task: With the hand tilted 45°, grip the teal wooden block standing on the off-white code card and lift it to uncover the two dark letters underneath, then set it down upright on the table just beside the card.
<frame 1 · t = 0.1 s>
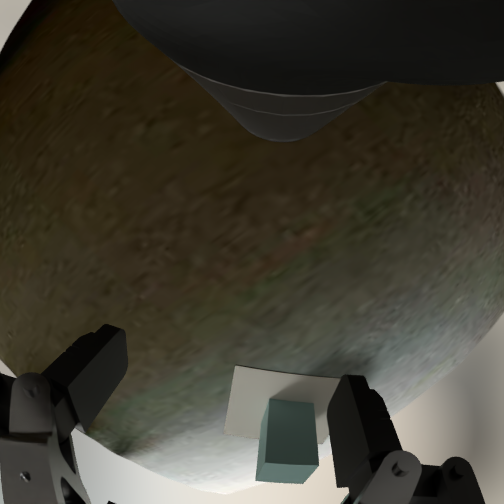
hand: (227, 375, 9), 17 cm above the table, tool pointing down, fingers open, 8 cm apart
code card: (286, 413, 33), on the table
teal block: (286, 414, 33), resting on code card
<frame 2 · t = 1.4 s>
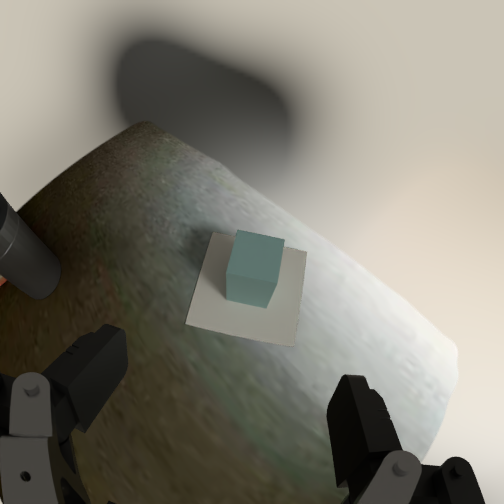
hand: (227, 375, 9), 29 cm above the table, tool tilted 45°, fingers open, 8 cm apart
code card: (250, 286, 42), on the table
teal block: (250, 285, 42), resting on code card
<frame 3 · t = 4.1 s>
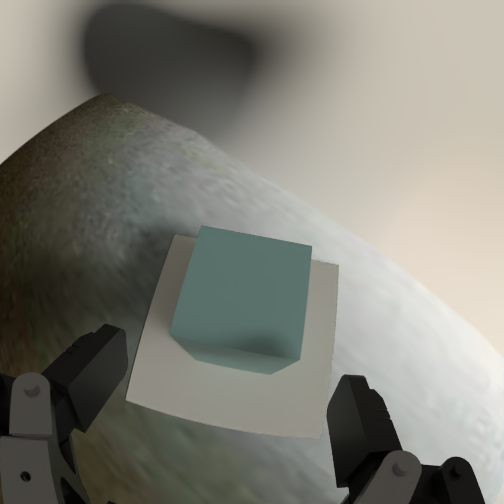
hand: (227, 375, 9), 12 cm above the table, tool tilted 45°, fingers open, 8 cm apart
code card: (240, 333, 22), on the table
teal block: (240, 333, 22), resting on code card
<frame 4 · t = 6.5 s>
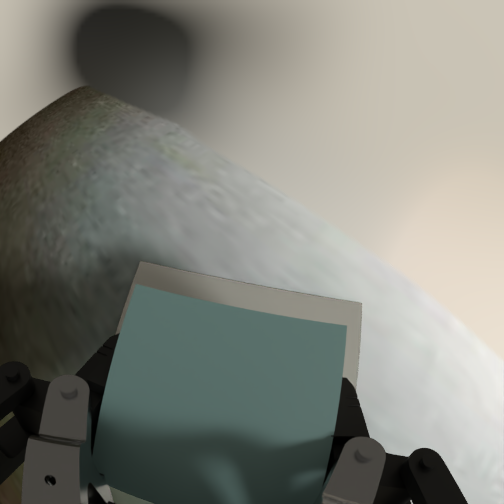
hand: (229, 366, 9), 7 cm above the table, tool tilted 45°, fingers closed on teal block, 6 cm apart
code card: (226, 403, 15), on the table
teal block: (226, 403, 14), resting on code card, touching gripper
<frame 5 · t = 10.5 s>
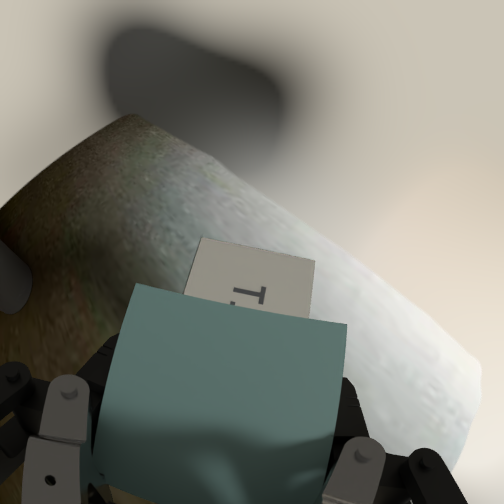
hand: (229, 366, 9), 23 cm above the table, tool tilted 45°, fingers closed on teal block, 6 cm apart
code card: (246, 303, 34), on the table
teal block: (226, 402, 14), point 16 cm above the table, touching gripper
when the fingers open (8 cm above the table, at t = 14.5 s): teal block drops 1 cm, on the table.
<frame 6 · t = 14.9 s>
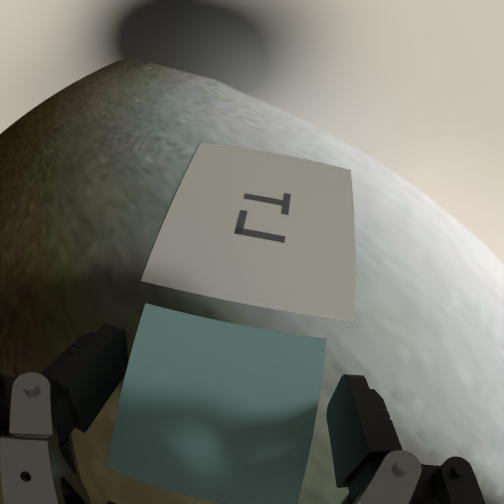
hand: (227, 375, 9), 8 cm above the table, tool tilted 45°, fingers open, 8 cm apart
code card: (264, 214, 23), on the table
teal block: (224, 403, 16), on the table
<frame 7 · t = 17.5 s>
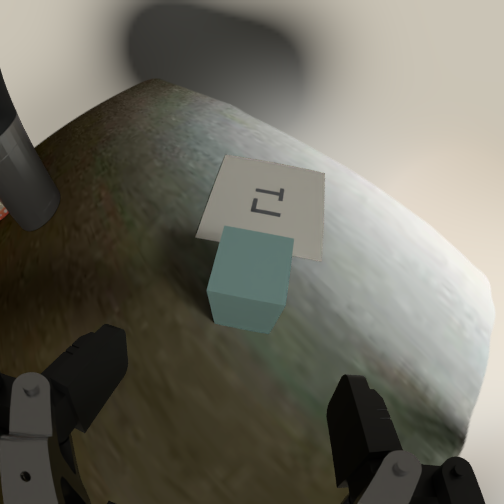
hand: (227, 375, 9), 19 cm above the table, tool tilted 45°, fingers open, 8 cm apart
code card: (268, 200, 38), on the table
teal block: (246, 303, 31), on the table
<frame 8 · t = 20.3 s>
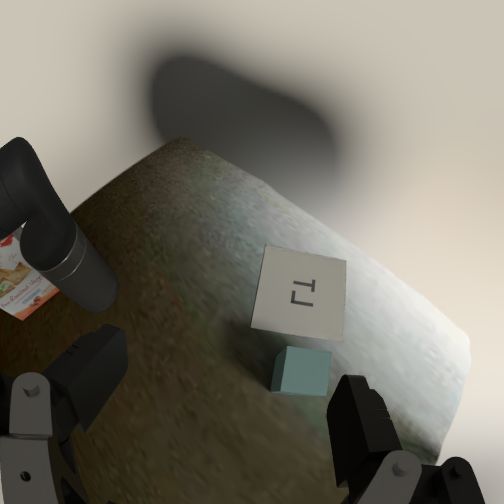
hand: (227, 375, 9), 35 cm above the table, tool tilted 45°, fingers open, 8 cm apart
code card: (303, 292, 48), on the table
teal block: (291, 376, 41), on the table
cracker box: (41, 294, 43), on the table
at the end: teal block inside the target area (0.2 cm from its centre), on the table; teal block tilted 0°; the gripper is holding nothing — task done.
